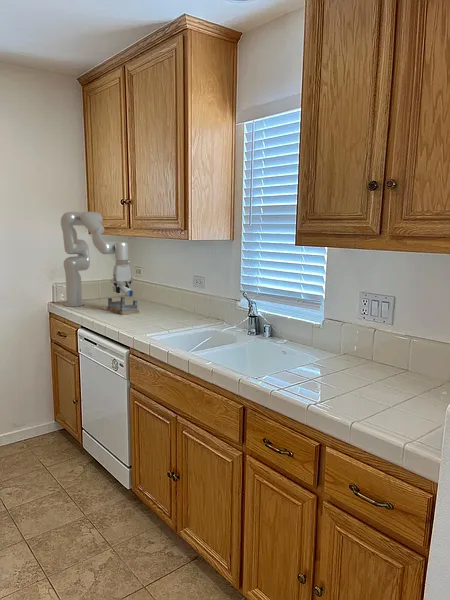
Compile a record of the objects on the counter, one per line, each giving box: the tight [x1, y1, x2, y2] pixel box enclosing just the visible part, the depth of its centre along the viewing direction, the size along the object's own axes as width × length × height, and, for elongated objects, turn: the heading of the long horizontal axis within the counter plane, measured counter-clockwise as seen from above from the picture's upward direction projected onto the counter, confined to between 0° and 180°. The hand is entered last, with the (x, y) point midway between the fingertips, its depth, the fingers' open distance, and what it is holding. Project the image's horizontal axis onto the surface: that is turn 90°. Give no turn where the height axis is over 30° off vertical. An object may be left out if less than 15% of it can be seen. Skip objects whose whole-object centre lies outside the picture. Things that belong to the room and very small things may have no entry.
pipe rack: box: [106, 296, 140, 316], centre depth 279 cm, size 21×11×8 cm, turn 40°
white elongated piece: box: [112, 281, 134, 297], centre depth 277 cm, size 5×7×25 cm
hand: (122, 292), depth 277 cm, fingers closed on white elongated piece, 5 cm apart
